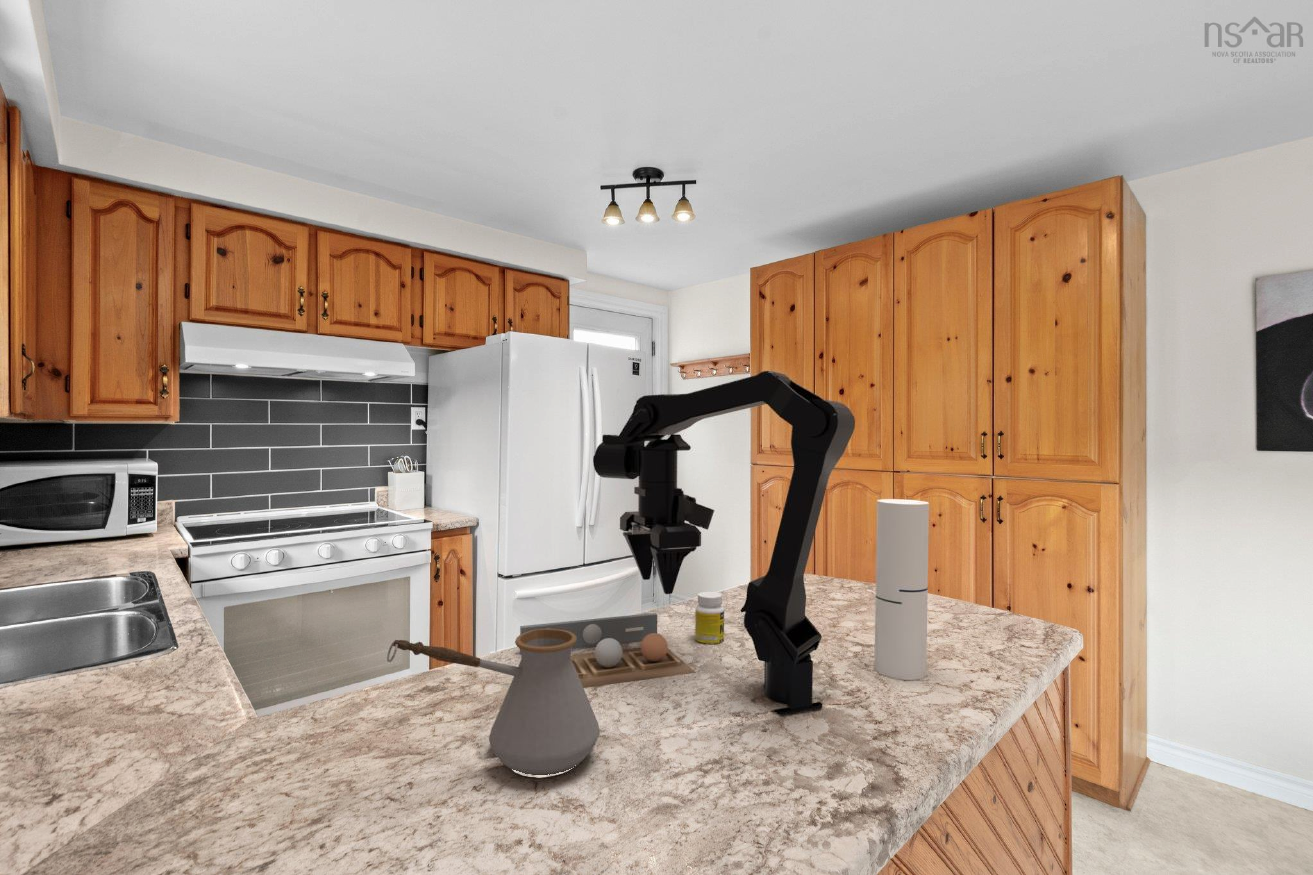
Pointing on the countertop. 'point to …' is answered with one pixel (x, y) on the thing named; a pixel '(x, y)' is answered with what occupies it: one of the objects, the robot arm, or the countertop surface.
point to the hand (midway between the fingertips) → (656, 586)
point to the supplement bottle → (709, 619)
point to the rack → (627, 668)
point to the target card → (604, 629)
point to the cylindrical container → (901, 588)
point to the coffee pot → (534, 703)
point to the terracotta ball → (654, 647)
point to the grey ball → (608, 652)
